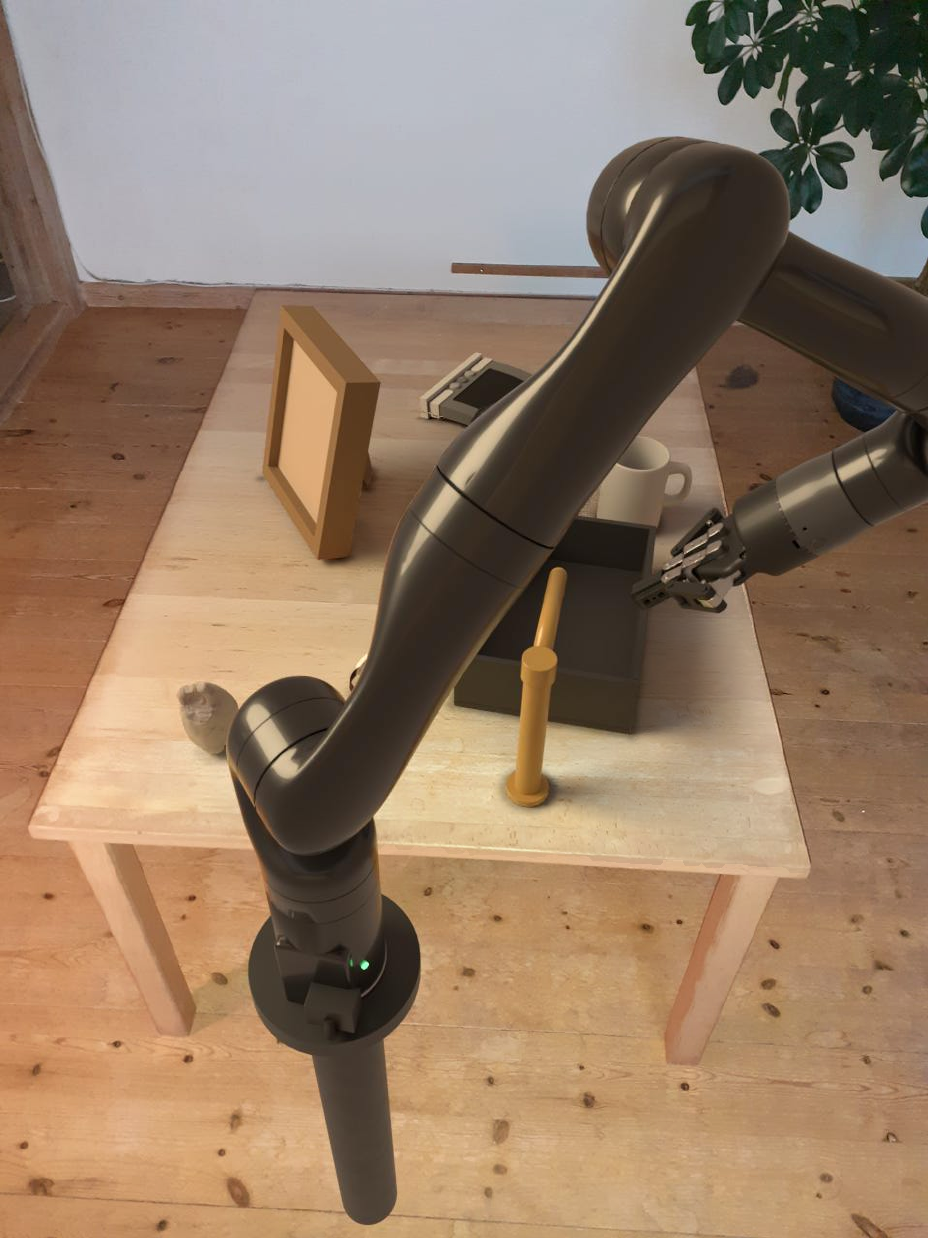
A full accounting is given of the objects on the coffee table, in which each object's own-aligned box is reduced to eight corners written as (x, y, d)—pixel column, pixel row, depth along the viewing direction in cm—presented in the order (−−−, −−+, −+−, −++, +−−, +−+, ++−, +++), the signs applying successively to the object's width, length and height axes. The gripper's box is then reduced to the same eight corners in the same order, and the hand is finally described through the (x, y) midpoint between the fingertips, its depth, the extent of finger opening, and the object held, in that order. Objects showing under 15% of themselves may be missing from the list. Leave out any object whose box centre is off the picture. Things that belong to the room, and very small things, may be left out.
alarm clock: (475, 352, 162) (564, 371, 155) (476, 377, 165) (564, 397, 158) (419, 397, 151) (512, 420, 144) (422, 424, 154) (513, 448, 147)
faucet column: (545, 810, 99) (558, 699, 88) (502, 802, 100) (510, 691, 88) (551, 776, 102) (564, 665, 91) (509, 769, 103) (518, 657, 92)
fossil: (242, 727, 106) (228, 663, 100) (248, 751, 104) (235, 686, 97) (188, 742, 105) (170, 677, 98) (193, 766, 102) (176, 701, 96)
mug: (600, 539, 131) (609, 471, 124) (592, 501, 138) (601, 434, 130) (689, 539, 132) (704, 471, 124) (677, 502, 138) (691, 434, 130)
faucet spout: (550, 709, 90) (555, 673, 86) (516, 703, 90) (519, 667, 87) (572, 596, 101) (576, 561, 98) (541, 591, 102) (545, 556, 98)
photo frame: (318, 566, 126) (299, 393, 109) (262, 478, 140) (238, 313, 123) (422, 534, 132) (419, 365, 115) (358, 453, 146) (347, 291, 129)
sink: (630, 734, 107) (640, 685, 101) (453, 705, 109) (454, 656, 104) (647, 574, 126) (656, 525, 121) (497, 552, 129) (500, 504, 124)
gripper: (779, 439, 85) (619, 529, 95) (778, 530, 75) (601, 619, 86) (826, 498, 87) (666, 580, 98) (831, 593, 78) (653, 673, 88)
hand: (636, 598), depth 92 cm, fingers closed
